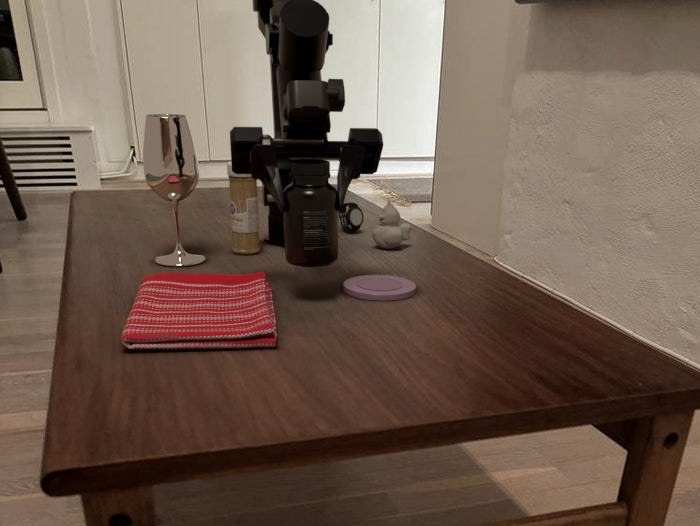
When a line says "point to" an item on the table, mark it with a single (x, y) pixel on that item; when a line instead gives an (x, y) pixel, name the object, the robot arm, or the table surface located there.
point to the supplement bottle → (311, 215)
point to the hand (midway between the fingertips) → (311, 210)
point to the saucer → (379, 287)
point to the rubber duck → (390, 228)
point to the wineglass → (171, 172)
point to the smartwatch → (351, 217)
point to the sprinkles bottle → (243, 212)
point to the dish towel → (201, 312)
